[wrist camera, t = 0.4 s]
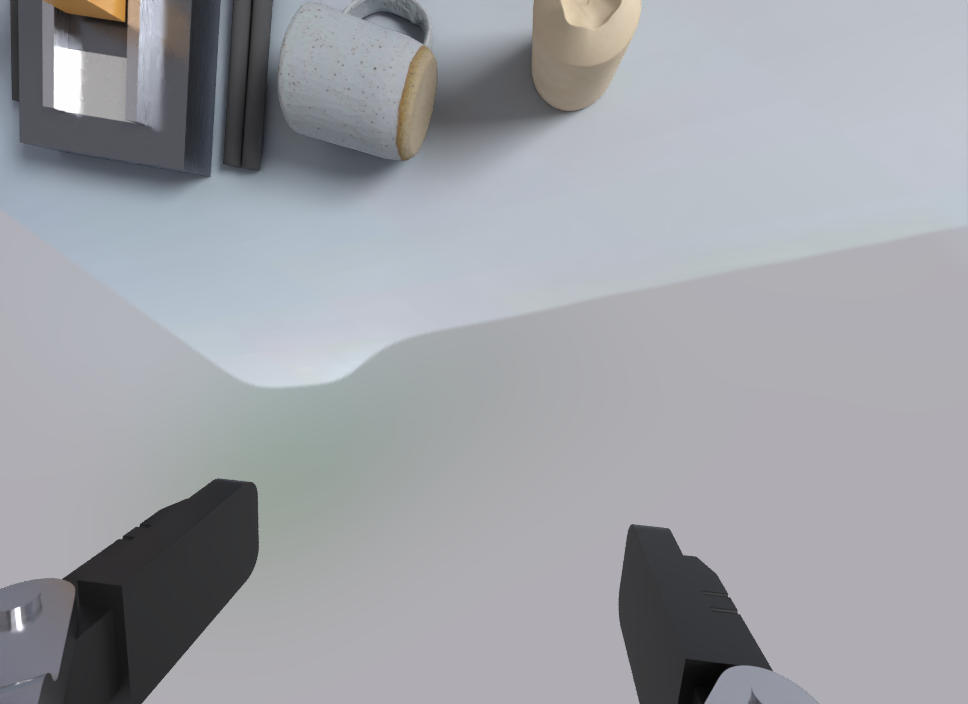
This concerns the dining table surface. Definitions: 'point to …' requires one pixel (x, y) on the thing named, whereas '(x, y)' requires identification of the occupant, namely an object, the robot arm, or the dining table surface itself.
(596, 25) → the candle
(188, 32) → the panel
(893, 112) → the dining table surface
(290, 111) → the ceramic mug
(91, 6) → the lever
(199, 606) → the robot arm
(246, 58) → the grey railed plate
